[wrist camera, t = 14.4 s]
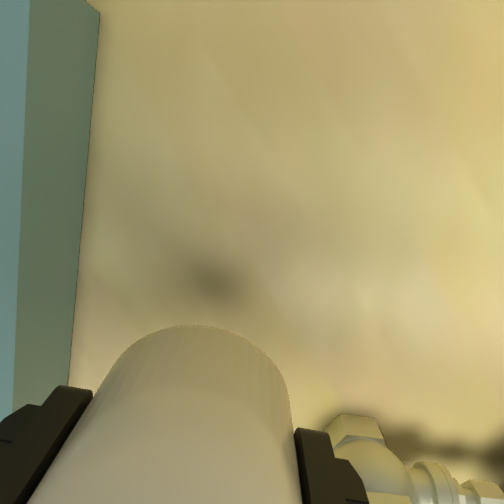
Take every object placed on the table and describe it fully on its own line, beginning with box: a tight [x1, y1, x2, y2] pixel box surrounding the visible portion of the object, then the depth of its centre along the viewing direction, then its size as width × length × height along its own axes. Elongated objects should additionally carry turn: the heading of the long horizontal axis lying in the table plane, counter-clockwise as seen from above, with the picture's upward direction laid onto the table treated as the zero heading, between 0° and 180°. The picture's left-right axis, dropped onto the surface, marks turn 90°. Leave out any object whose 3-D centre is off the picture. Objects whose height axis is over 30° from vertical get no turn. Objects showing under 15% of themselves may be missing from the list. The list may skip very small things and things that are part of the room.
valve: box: [323, 414, 504, 504], centre depth 18 cm, size 7×7×12 cm
